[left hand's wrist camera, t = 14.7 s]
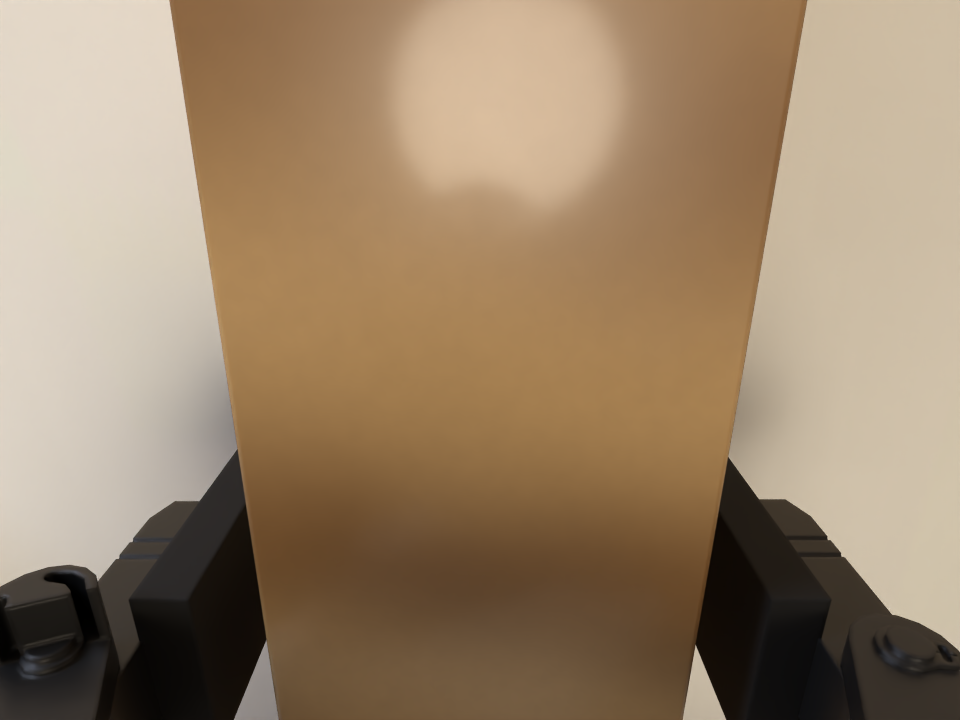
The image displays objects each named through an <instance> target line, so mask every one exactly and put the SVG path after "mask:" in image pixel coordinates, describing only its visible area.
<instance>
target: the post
mask: <svg viewBox="0 0 960 720" xmlns="http://www.w3.org/2000/svg"><path fill="white" fill-rule="evenodd" d="M806 4H807V0H170V7H171V14H172V20H173V27H174V33H175V40H176V46H177V53H178V60H179V66H180V73H181V79H182V86H183V92H184V99H185V106H186V112H187V119H188V125H189V132H190V139H191V145H192V152H193V158H194V165H195V171H196V178H197V185H198V191H199V198H200V204H201V211H202V218H203V224H204V231H205V237H206V244H207V250H208V257H209V264H210V270H211V277H212V283H213V290H214V297H215V303H216V310H217V316H218V323H219V329H220V336H221V343H222V349H223V356H224V362H225V369H226V375H227V382H228V389H229V395H230V402H231V408H232V415H233V422H234V428H235V435H236V441H237V448H238V454H239V461H240V468H241V474H242V481H243V487H244V494H245V501H246V507H247V514H248V520H249V527H250V533H251V540H252V547H253V553H254V560H255V566H256V573H257V579H258V586H259V593H260V599H261V606H262V612H263V619H264V626H265V632H266V639H267V645H268V652H269V658H270V665H271V672H272V678H273V685H274V691H275V698H276V705H277V711H278V718H279V720H683V714H684V708H685V702H686V696H687V691H688V685H689V679H690V673H691V668H692V662H693V656H694V650H695V645H696V639H697V633H698V627H699V621H700V616H701V610H702V604H703V598H704V593H705V587H706V581H707V575H708V570H709V564H710V558H711V552H712V546H713V541H714V535H715V529H716V523H717V518H718V512H719V506H720V500H721V495H722V489H723V483H724V477H725V471H726V466H727V460H728V454H729V448H730V443H731V437H732V431H733V425H734V420H735V414H736V408H737V402H738V396H739V391H740V385H741V379H742V373H743V368H744V362H745V356H746V350H747V345H748V339H749V333H750V327H751V322H752V316H753V310H754V304H755V298H756V293H757V287H758V281H759V275H760V270H761V264H762V258H763V252H764V247H765V241H766V235H767V229H768V223H769V218H770V212H771V206H772V200H773V195H774V189H775V183H776V177H777V172H778V166H779V160H780V154H781V148H782V143H783V137H784V131H785V125H786V120H787V114H788V108H789V102H790V97H791V91H792V85H793V79H794V73H795V68H796V62H797V56H798V50H799V45H800V39H801V33H802V27H803V22H804V16H805V10H806Z"/></svg>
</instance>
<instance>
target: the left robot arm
mask: <svg viewBox="0 0 960 720" xmlns="http://www.w3.org/2000/svg"><path fill="white" fill-rule="evenodd" d="M265 642H266V632H265V626H264V619H263V612H262V606H261V599H260V593H259V586H258V579H257V573H256V566H255V560H254V553H253V547H252V540H251V533H250V527H249V520H248V514H247V507H246V501H245V494H244V487H243V481H242V474H241V468H240V461H239V454H238V449H237V451H236V452H235V454H234V455H233V456H232V458H231V459H230V460H229V462H228V463H227V465H226V466H225V467H224V469H223V470H222V471H221V473H220V474H219V476H218V477H217V478H216V480H215V481H214V482H213V484H212V485H211V487H210V488H209V489H208V491H207V492H206V493H205V495H204V496H203V498H202V499H201V500H200V501H175V502H173V503H172V504H170V505H169V506H167V507H166V508H164V509H163V510H161V511H160V512H158V513H157V514H156V515H154V516H153V517H151V518H150V519H149V520H148V521H147V522H146V523H145V525H144V526H143V527H142V528H141V530H140V531H139V532H138V533H137V534H136V536H135V537H134V538H133V542H130V543H129V544H128V545H127V547H126V548H125V549H124V550H123V551H122V553H121V554H120V558H119V559H116V560H115V561H114V562H113V564H112V565H111V566H110V567H109V569H108V570H107V571H106V572H105V573H104V575H103V576H102V577H101V578H100V580H99V581H97V577H96V575H95V574H94V573H92V572H91V571H90V570H89V569H87V568H85V567H79V566H73V565H64V566H55V567H47V568H44V569H41V570H38V571H34V572H31V573H28V574H25V575H23V576H21V577H19V578H17V579H15V580H13V581H11V582H9V583H7V584H5V585H3V586H1V587H0V720H234V718H235V715H236V713H237V710H238V708H239V705H240V703H241V701H242V698H243V696H244V693H245V691H246V688H247V686H248V683H249V681H250V678H251V676H252V674H253V671H254V669H255V666H256V664H257V661H258V659H259V656H260V654H261V651H262V649H263V647H264V644H265ZM696 647H697V649H698V651H699V654H700V656H701V659H702V661H703V664H704V666H705V669H706V671H707V674H708V676H709V678H710V681H711V683H712V686H713V688H714V691H715V693H716V696H717V698H718V700H719V703H720V705H721V708H722V710H723V713H724V715H725V718H726V720H960V652H959V651H958V650H957V649H956V648H955V647H954V646H953V645H952V644H950V643H949V642H948V641H947V640H946V639H945V638H943V637H942V636H941V635H939V634H938V633H936V632H934V631H932V630H930V629H929V628H927V627H925V626H923V625H922V624H920V623H917V622H914V621H911V620H908V619H905V618H903V617H900V616H897V615H892V614H891V613H890V612H889V610H888V609H887V608H886V607H885V606H884V604H883V603H882V602H881V601H880V600H879V598H878V597H877V596H876V595H875V594H874V592H873V591H872V590H871V589H870V587H869V586H868V585H867V584H866V583H865V581H864V580H863V579H862V578H861V577H860V575H859V574H858V573H857V572H856V571H855V569H854V568H853V567H852V566H851V564H850V563H849V562H848V561H847V560H846V558H845V557H841V552H840V551H839V550H838V549H837V548H836V546H835V545H834V544H833V543H832V541H831V540H828V539H827V535H826V534H825V533H824V532H823V531H822V529H821V528H820V527H819V526H818V524H817V523H816V522H815V521H814V520H813V518H812V517H811V516H809V515H808V514H806V513H805V512H803V511H802V510H800V509H799V508H797V507H796V506H794V505H793V504H791V503H790V502H788V501H787V500H785V499H758V498H757V496H756V495H755V493H754V492H753V491H752V489H751V488H750V487H749V485H748V484H747V482H746V481H745V480H744V478H743V477H742V475H741V474H740V473H739V471H738V470H737V469H736V467H735V466H734V464H733V463H732V462H731V460H730V459H729V458H728V460H727V466H726V471H725V477H724V483H723V489H722V495H721V500H720V506H719V512H718V518H717V523H716V529H715V535H714V541H713V546H712V552H711V558H710V564H709V570H708V575H707V581H706V587H705V593H704V598H703V604H702V610H701V616H700V621H699V627H698V633H697V639H696Z"/></svg>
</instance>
